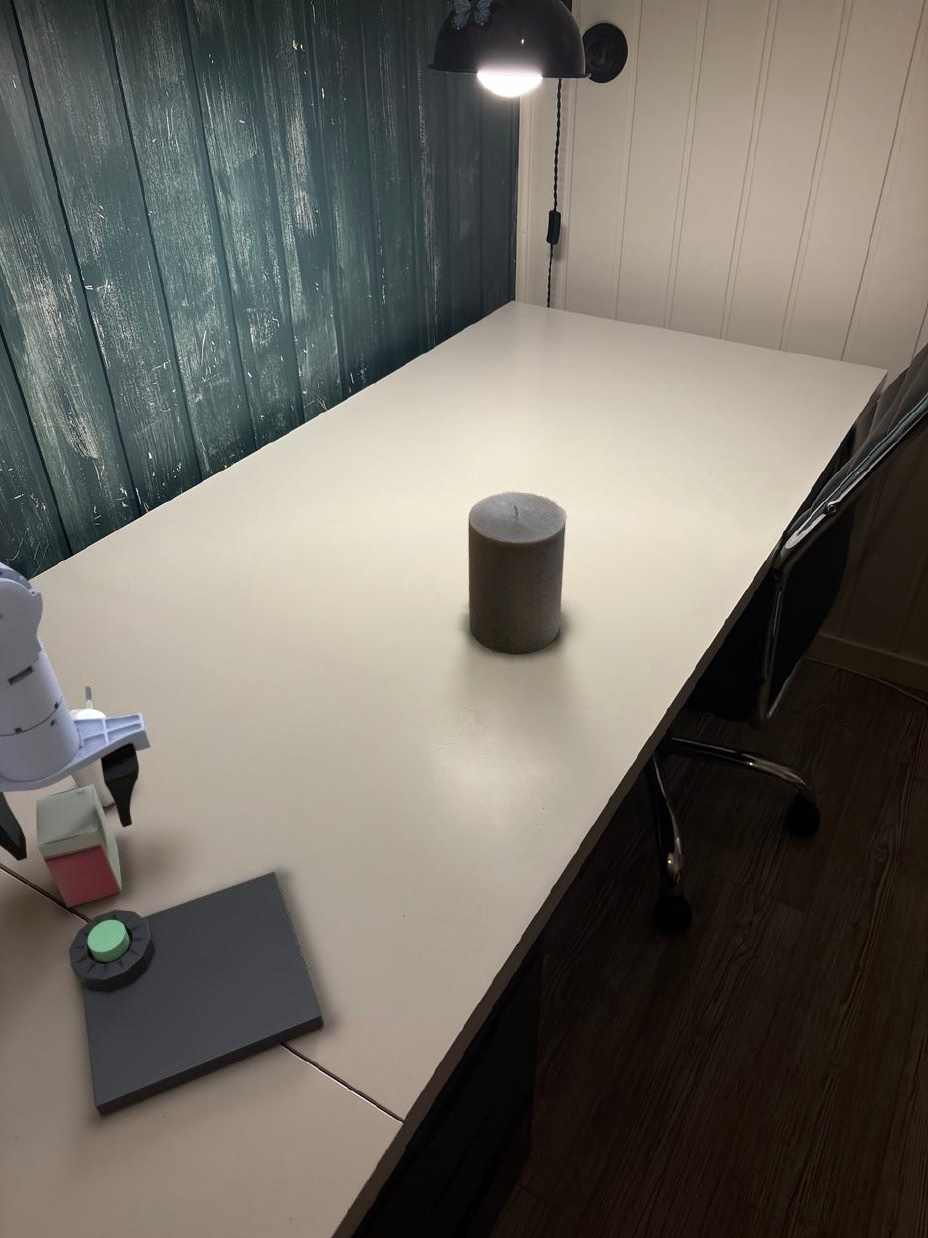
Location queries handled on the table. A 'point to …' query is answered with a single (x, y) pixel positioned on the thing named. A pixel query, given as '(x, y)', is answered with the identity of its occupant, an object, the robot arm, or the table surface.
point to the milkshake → (93, 770)
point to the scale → (192, 990)
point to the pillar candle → (515, 571)
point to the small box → (78, 845)
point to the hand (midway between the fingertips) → (74, 833)
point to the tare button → (108, 941)
